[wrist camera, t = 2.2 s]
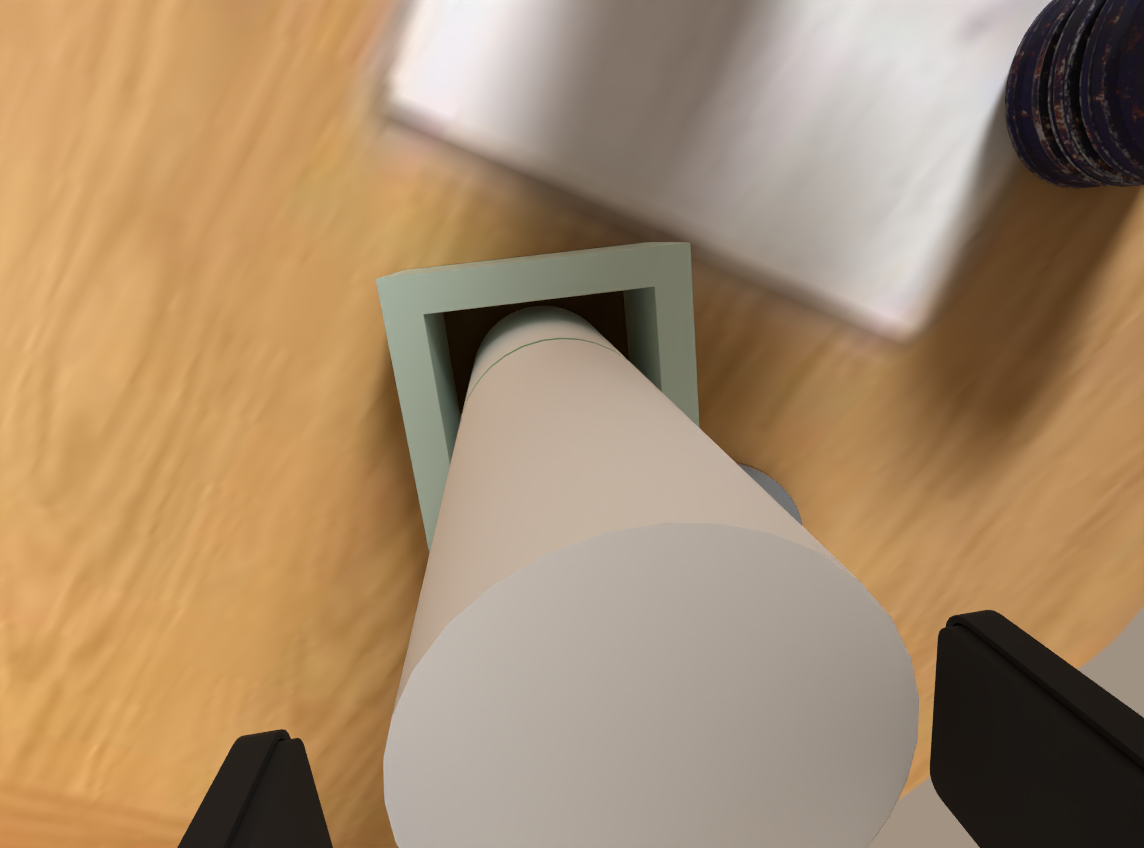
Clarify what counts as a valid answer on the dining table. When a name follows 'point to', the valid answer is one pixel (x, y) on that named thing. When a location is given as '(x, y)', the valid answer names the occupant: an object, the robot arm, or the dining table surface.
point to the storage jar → (1080, 94)
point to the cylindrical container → (632, 633)
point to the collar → (422, 295)
